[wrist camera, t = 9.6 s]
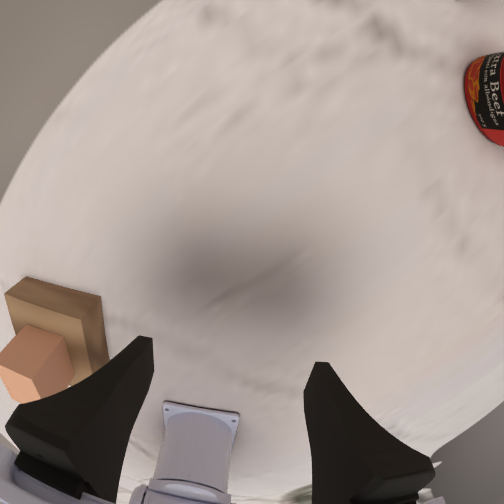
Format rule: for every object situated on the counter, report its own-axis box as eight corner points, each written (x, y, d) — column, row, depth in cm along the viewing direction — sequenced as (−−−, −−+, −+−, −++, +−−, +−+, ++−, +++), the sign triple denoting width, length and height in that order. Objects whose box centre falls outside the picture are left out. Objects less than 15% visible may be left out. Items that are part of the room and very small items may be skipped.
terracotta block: (75, 374, 22) (50, 416, 17) (38, 361, 22) (12, 398, 17) (63, 336, 20) (31, 379, 15) (26, 324, 20) (-7, 361, 15)
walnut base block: (112, 368, 26) (98, 395, 23) (45, 345, 26) (27, 367, 22) (102, 294, 23) (81, 319, 19) (28, 274, 23) (4, 293, 19)
